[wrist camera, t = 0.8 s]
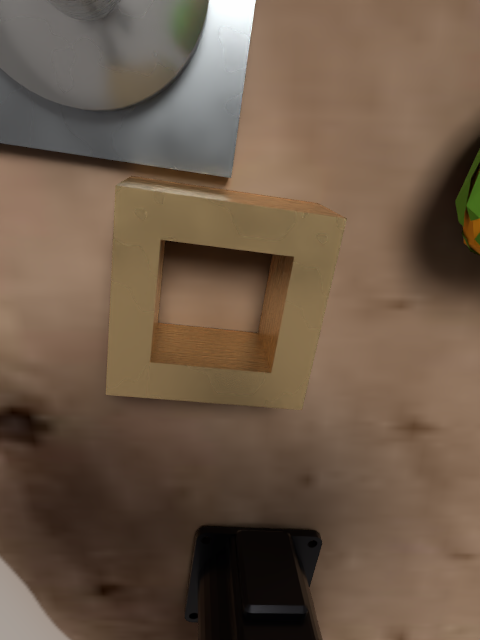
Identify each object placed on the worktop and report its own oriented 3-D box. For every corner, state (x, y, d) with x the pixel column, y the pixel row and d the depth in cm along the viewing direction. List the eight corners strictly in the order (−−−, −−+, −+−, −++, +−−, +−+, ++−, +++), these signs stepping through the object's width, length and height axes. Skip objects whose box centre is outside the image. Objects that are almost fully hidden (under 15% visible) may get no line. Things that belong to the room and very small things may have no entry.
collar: (284, 365, 20) (301, 410, 16) (121, 350, 19) (105, 394, 15) (317, 203, 17) (346, 218, 14) (131, 175, 16) (115, 185, 13)
